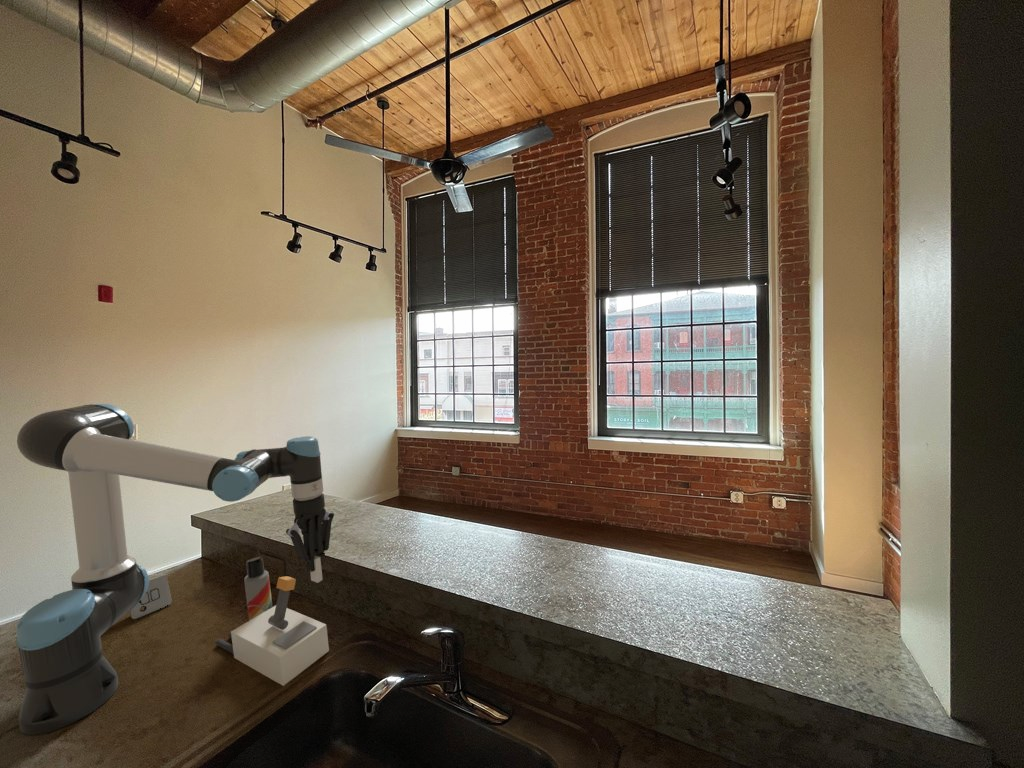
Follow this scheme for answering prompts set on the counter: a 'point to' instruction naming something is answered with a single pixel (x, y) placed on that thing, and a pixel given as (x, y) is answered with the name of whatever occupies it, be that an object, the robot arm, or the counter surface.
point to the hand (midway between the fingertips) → (316, 580)
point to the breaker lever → (282, 602)
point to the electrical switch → (153, 597)
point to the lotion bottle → (257, 588)
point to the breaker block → (280, 645)
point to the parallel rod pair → (225, 644)
